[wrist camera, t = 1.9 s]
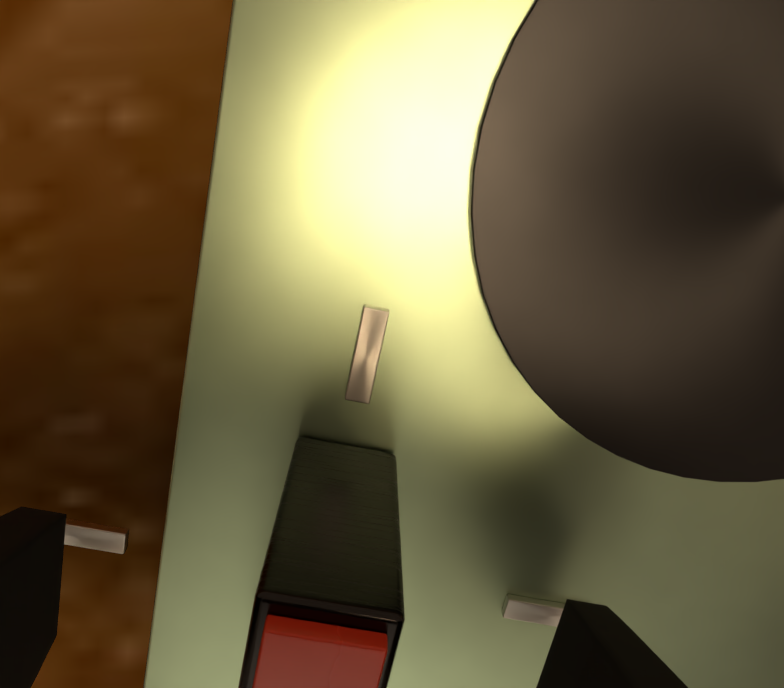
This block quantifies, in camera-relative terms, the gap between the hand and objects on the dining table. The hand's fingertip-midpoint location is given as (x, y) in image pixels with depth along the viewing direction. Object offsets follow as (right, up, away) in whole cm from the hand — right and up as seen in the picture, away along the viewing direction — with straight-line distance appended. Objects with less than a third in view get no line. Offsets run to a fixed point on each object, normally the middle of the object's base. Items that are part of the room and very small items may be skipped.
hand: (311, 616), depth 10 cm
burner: (+6, +6, -1) cm, 9 cm away
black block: (0, 0, +1) cm, 1 cm away
